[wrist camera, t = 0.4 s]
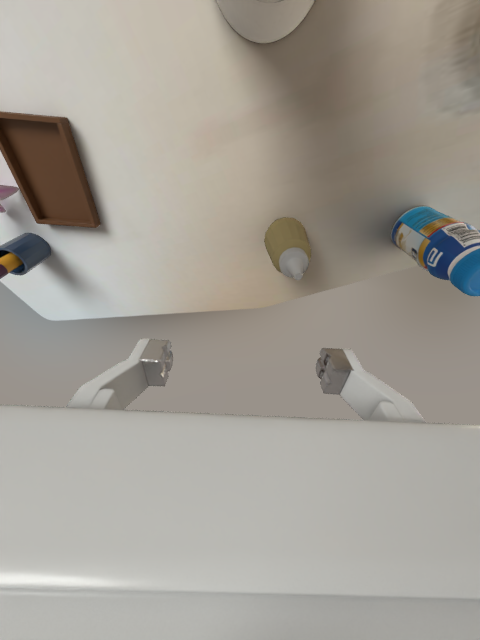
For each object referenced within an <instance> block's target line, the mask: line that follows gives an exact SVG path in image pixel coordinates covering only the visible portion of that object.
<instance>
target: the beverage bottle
mask: <svg viewBox="0 0 480 640" xmlns="http://www.w3.org/2000/svg"><path fill="white" fill-rule="evenodd" d="M391 239H392V242H393V243H394V244H395V245H396V246H397V247H399V248H401V249H402V250H403V251H405V252H406V253H407V254H408V255H410V256H411V257H412V258H413V259H414V260H416V261H417V263H418V265H419V266H420V267H422V268H423V269H424V270H426V271H429V272H430V274H431V275H433V276H435V277H437V278H440V279H444V280H450V281H451V283H452V284H453V285H454V286H455V287H457V288H458V289H459V290H461V291H462V292H463V293H465V294H467V295H470V296H480V230H476V229H475V228H474V227H473V226H471V225H470V224H468V223H464V222H460V221H458V220H455V219H453V218H451V217H449V216H446V215H444V214H442V213H440V212H438V211H436V210H434V209H432V208H430V207H426V206H420V207H416V208H413V209H411V210H409V211H407V212H406V213H404V214H403V215H402V216H401V217H400V218H399V219H398V220H397V221H396V223H395V224H394V226H393V228H392V231H391Z"/></svg>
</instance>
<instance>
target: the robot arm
mask: <svg viewBox="0 0 480 640" xmlns="http://www.w3.org/2000/svg"><path fill="white" fill-rule="evenodd" d="M216 1H217V4H218V6H219V8H220V10H221V12H222V14H223V15H224V17H225V18H226V20H227V21H228V23H229V24H230V25H231V26H232V28H233V29H234V30H235V31H236V32H237V33H239V34H240V35H241V36H243V37H244V38H246V39H248V40H250V41H253V42H257V43H270V42H274V41H277V40H280V39H281V38H283V37H285V36H287V35H288V34H289V33H291V32H292V31H293V30H294V29H295V28H296V27H297V26H298V25H299V24H300V23H301V21H302V20H303V19H304V18H305V16H306V15H307V13H308V12H309V10H310V8H311V7H312V5H313V3H314V2H315V0H216ZM170 349H171V342H170V341H169V340H155V339H140V340H139V341H138V343H137V345H136V346H135V348H134V350H133V352H132V354H131V355H130V357H129V359H128V360H124V361H122V362H120V363H119V364H117V365H115V366H114V367H112V368H110V369H109V370H107V371H106V372H104V373H102V374H100V375H99V376H97V377H96V378H94V379H92V380H91V381H89V382H88V383H86V384H84V385H82V386H81V387H80V388H79V389H78V391H77V392H76V393H75V395H74V396H73V398H72V399H71V400H70V402H69V403H68V405H67V406H66V407H45V406H23V405H0V640H480V425H465V424H442V423H426V422H425V421H424V419H423V418H422V416H421V415H420V414H419V412H418V411H417V409H416V408H415V406H414V405H413V404H412V402H411V401H410V400H408V399H407V398H405V397H404V396H402V395H401V394H399V393H398V392H396V391H395V390H394V389H392V388H391V387H389V386H388V385H386V384H385V383H383V382H382V381H381V380H379V379H378V378H376V377H375V376H373V375H372V374H370V373H369V372H367V371H364V370H363V368H362V366H361V364H360V363H359V361H358V359H357V357H356V356H355V354H354V352H353V351H352V350H351V349H332V348H322V349H321V351H320V355H321V357H320V358H319V359H318V360H317V363H316V372H317V376H318V377H319V378H320V379H321V382H320V384H321V387H322V390H323V393H326V394H339V395H340V396H341V397H342V398H343V399H344V400H345V401H346V402H347V403H348V404H349V406H351V408H352V409H353V410H355V412H356V413H357V414H358V415H359V416H360V417H361V418H362V419H363V420H349V419H348V420H347V419H324V418H302V417H280V416H256V415H233V414H210V413H185V412H163V411H140V410H139V411H138V410H124V409H125V408H126V407H127V406H128V405H129V404H130V403H131V402H132V401H133V400H134V399H136V398H137V397H138V396H139V395H140V394H141V393H142V392H143V391H144V390H145V389H146V388H147V387H148V386H165V384H166V382H167V379H168V371H170V370H171V367H172V362H173V354H172V352H171V351H170Z"/></svg>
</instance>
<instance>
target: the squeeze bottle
mask: <svg viewBox="0 0 480 640" xmlns="http://www.w3.org/2000/svg"><path fill="white" fill-rule="evenodd" d="M264 242H265V246H266V249H267V251H268V254H269V256H270V258H271V260H272V263H273V265H274V266H275V268H276V269H277V270H278V271H279V272H281V273H283V274H284V275H285V276H287V277H294V278H295V279H296V280H300V279H302V277H303V273H304V272H305V271H306V270H307V268H308V265H309V261H310V258H311V250H310V246H309V242H308V238H307V235H306V231H305V228H304V227H303V225H302V224H301V222H299V221H298V220H296V219H294V218H280V219H277V220H276V221H275V222H273V223H272V224H271V225H270V227H269V228H268V230H267V232H266V234H265V240H264Z"/></svg>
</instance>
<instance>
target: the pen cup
mask: <svg viewBox="0 0 480 640" xmlns="http://www.w3.org/2000/svg"><path fill="white" fill-rule="evenodd" d="M10 252H11V253H13V254H15V255H16V256H18V257H19V258H20V259H21V260H22V262H23V264H22V265H20V266H18V267H17V268H15V269H14V270H12V271H11V272H9V273H12V274H14V275H24V274H26V273H28V272H29V271H30V270H32V269H33V268H35V267H36V266H37V265H39V264H40V263H42V262H43V261H44V260H46V259H47V258H48V257H50V255H51V248H50V246H49V245H48V243H47V242H46V241H45V240H44V239H43V238H41V237H40V236H38V235H36V234H33V233H24V234H22V235H20V236H18V237H16V238H14V239H12V240H10V241H8V242H7V243H5V244H3V245H1V246H0V258H1V257H3V256H5V255H6V254H8V253H10Z"/></svg>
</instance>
